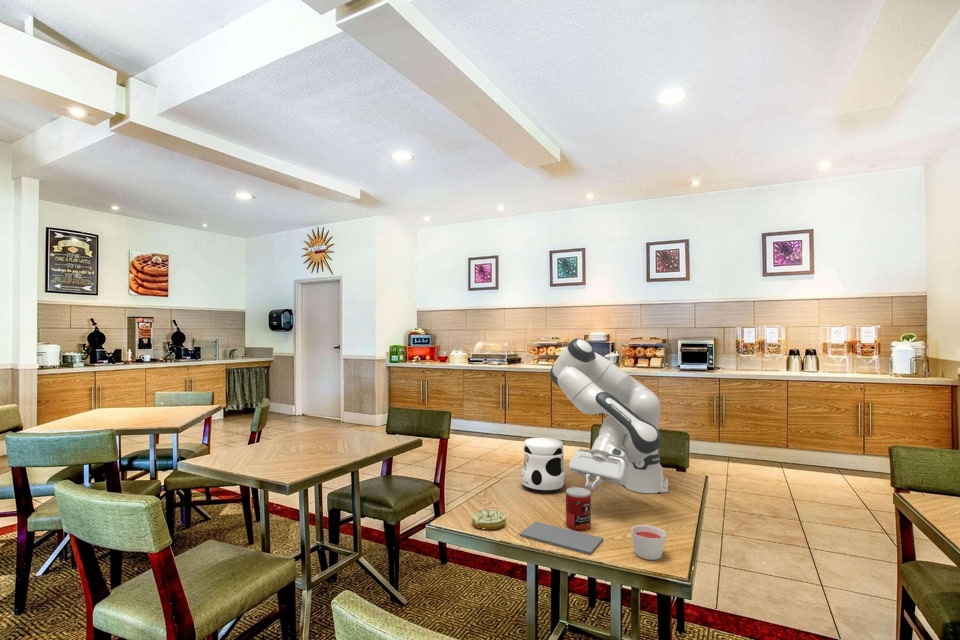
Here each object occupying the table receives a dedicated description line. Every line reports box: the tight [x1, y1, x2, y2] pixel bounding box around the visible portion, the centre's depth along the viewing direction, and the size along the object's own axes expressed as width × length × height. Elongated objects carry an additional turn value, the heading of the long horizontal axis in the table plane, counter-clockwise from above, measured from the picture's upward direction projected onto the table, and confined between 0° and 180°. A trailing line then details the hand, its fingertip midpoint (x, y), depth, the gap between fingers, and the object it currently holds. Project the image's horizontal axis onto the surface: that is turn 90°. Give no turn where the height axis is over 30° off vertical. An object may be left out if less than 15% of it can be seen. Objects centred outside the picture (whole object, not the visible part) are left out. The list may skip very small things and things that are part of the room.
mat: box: [518, 521, 604, 556], centre depth 142 cm, size 11×22×1 cm, turn 58°
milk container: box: [520, 437, 567, 493], centre depth 188 cm, size 17×17×18 cm
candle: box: [630, 524, 667, 561], centre depth 132 cm, size 9×9×6 cm
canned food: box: [565, 486, 592, 532], centre depth 151 cm, size 8×8×11 cm
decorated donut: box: [471, 508, 507, 530], centre depth 152 cm, size 10×11×4 cm
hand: (589, 488), depth 158 cm, fingers closed
